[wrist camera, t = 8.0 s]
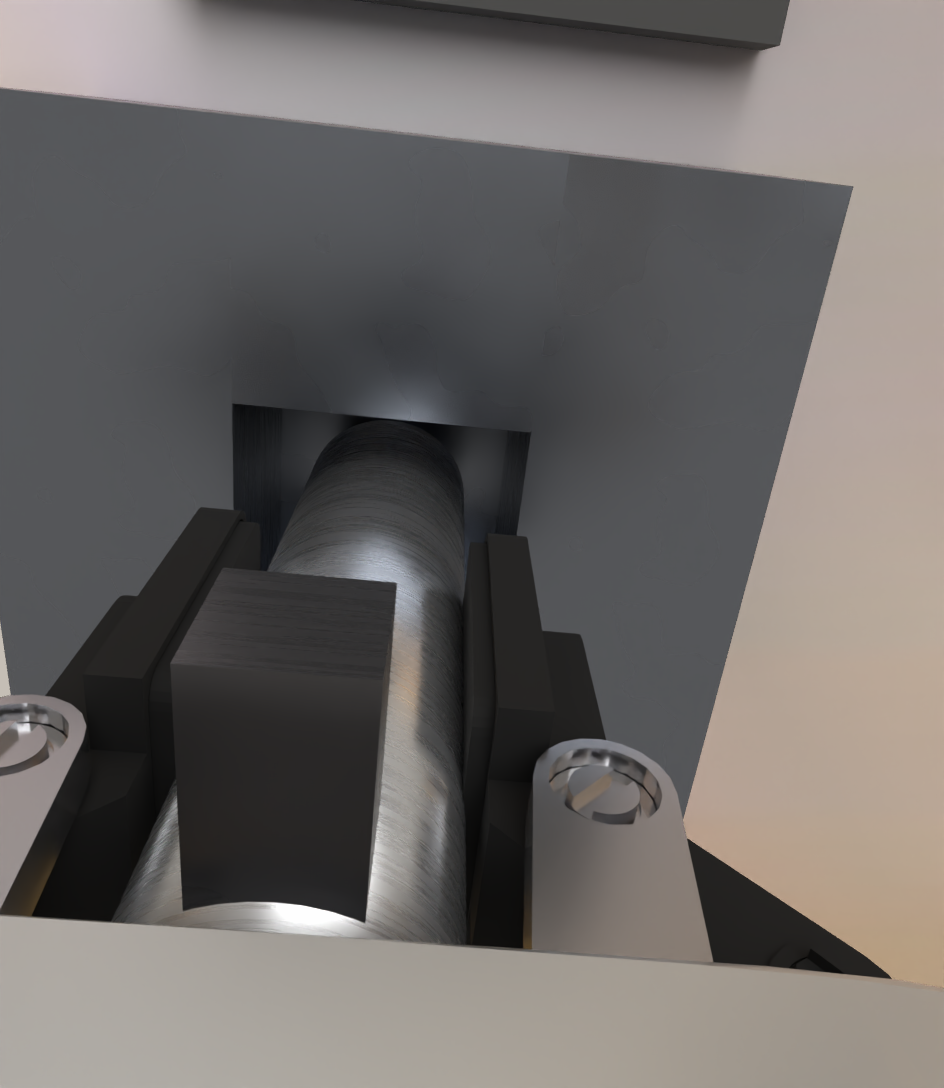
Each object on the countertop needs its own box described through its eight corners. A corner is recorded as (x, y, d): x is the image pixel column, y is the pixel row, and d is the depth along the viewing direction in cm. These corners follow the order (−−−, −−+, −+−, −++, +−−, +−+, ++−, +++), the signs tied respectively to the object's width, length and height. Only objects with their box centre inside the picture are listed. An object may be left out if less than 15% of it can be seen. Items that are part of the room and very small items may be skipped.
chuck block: (735, 170, 17) (854, 185, 12) (623, 694, 22) (671, 862, 17) (91, 96, 16) (-78, 79, 11) (131, 654, 21) (28, 816, 16)
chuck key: (482, 325, 15) (526, 734, 5) (447, 649, 17) (428, 1346, 7) (314, 308, 14) (-10, 692, 5) (305, 637, 17) (90, 1332, 7)
